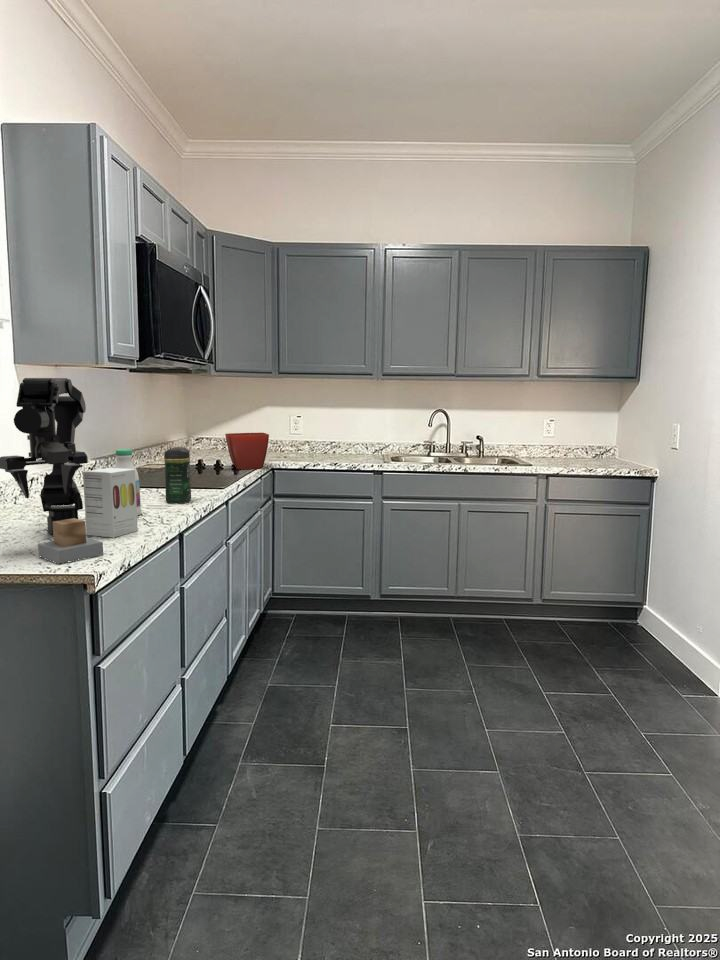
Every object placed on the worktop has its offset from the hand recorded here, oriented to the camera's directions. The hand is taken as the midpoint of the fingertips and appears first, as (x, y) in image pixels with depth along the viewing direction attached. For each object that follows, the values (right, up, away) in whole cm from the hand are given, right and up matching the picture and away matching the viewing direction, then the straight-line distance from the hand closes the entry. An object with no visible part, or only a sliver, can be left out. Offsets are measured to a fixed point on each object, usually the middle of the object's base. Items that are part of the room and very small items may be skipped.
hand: (47, 495), depth 151 cm
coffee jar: (+14, -4, +61) cm, 63 cm away
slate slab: (+10, -13, -9) cm, 19 cm away
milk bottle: (+6, -7, +37) cm, 38 cm away
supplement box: (+10, -10, +14) cm, 20 cm away
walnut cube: (+10, -10, -10) cm, 18 cm away
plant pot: (+20, +9, +157) cm, 158 cm away
